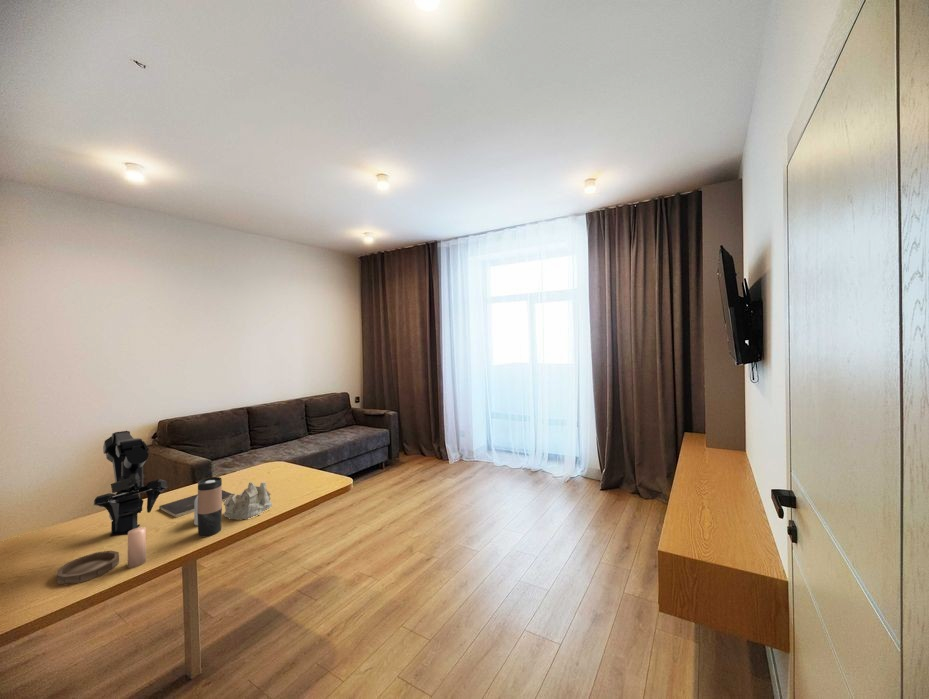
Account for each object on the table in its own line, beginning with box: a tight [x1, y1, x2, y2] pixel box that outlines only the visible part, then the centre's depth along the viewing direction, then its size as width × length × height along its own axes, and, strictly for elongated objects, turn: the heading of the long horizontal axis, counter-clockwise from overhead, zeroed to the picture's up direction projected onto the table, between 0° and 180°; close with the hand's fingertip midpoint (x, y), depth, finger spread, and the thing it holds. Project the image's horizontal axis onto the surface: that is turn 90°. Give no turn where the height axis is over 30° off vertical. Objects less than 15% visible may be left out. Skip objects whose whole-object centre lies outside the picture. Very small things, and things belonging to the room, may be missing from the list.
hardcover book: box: [158, 489, 232, 518], centre depth 161 cm, size 16×23×2 cm
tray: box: [55, 550, 120, 585], centre depth 112 cm, size 14×14×2 cm
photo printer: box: [193, 496, 198, 526], centre depth 146 cm, size 10×4×12 cm, turn 12°
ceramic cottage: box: [223, 481, 274, 520], centre depth 153 cm, size 16×16×15 cm
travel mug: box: [197, 476, 223, 538], centre depth 136 cm, size 8×8×20 cm
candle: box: [127, 526, 147, 569], centre depth 116 cm, size 4×4×11 cm
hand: (132, 517), depth 122 cm, fingers open, 9 cm apart
